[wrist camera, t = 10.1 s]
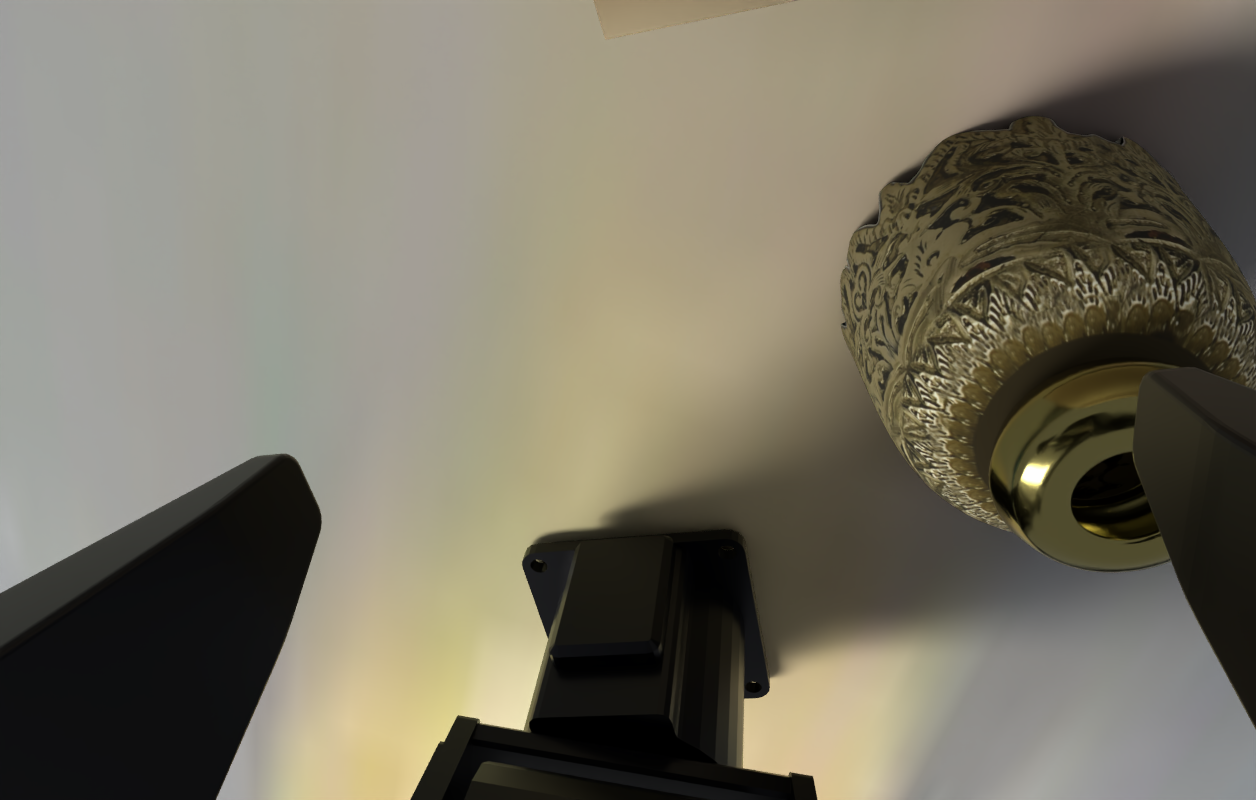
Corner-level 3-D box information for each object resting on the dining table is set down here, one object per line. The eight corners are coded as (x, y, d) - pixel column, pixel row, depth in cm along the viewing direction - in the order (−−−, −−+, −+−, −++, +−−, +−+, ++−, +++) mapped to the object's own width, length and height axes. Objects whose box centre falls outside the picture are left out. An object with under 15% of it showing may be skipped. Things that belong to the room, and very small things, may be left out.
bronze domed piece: (1246, 718, 15) (1094, 452, 21) (1575, 339, 11) (1261, 162, 18) (813, 616, 15) (799, 385, 22) (984, 208, 11) (900, 83, 18)
